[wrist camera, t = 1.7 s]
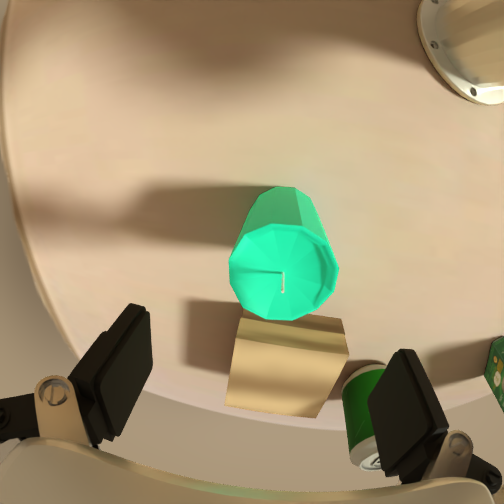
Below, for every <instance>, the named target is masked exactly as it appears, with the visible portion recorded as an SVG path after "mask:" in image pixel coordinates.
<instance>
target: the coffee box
mask: <svg viewBox="0 0 504 504" xmlns="http://www.w3.org/2000/svg"><path fill="white" fill-rule="evenodd" d="M484 377H485V378H486V380H487V382H488V384H489V386H490V388H491V389H492V391H493V393H494V395H495V397H496V399H497V401H498V403H499V405H500V407H501V408H502V410H503V412H504V336H502V337H500V338H498V339H497V340H495V341H493V343H492V345H491V349H490V354H489V359H488V362H487V366H486V369H485V374H484Z"/></svg>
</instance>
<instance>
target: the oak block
mask: <svg viewBox="0 0 504 504" xmlns="http://www.w3.org/2000/svg"><path fill="white" fill-rule="evenodd" d="M348 357H349V352H348V347H347V343H346V339H345V335H344V334H339V333H332V332H325V331H318V330H311V329H304V328H298V327H292V326H286V325H280V324H274V323H268V322H262V321H257V320H252V319H246V318H240V322H239V326H238V331H237V335H236V340H235V346H234V352H233V357H232V363H231V369H230V375H229V381H228V387H227V393H226V399H225V405H224V406H229V407H235V408H240V409H246V410H252V411H258V412H265V413H272V414H279V415H288V416H297V417H308V418H316V417H317V415H318V413H319V412H320V410H321V408H322V406H323V405H324V403H325V401H326V399H327V397H328V396H329V394H330V392H331V390H332V388H333V386H334V384H335V382H336V381H337V379H338V377H339V375H340V373H341V371H342V369H343V367H344V365H345V363H346V361H347V359H348Z"/></svg>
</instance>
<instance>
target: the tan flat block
mask: <svg viewBox="0 0 504 504" xmlns="http://www.w3.org/2000/svg"><path fill="white" fill-rule="evenodd" d="M242 318H246V319H252V320H257V321H262V322H268V323H274V324H280V325H286V326H292V327H298V328H304V329H311V330H318V331H325V332H332V333H339V334H344V335H345V332H344V328H343V324H342V320H341V319H339V318H332V317H325V316H319V315H312V314H306V315H304V316H302V317H299V318H297V319H295V320H293V321H291V320H270V319H264V318H262V317H260V316H258V315H256V314H254V313H252V312H250V311H248V310H246V309H245V308H244V309H243V314H242Z"/></svg>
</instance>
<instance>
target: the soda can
mask: <svg viewBox="0 0 504 504" xmlns="http://www.w3.org/2000/svg"><path fill="white" fill-rule="evenodd" d="M386 367H387V366H386V365H382V364H371V365H367V366H364V367H361V368H360V369H358V370H356V371H355V372H354V373H353V374H352V375H350V377H349V378H348V379H347V380H346V381H345V383H344V384H343V386H342V392H341V394H342V401H343V407H344V414H345V422H346V429H347V437H348V445H349V454H350V460H351V462H352V464H354V465H356V466H359V467H360V469H362V470H364V471H378V470H382V469H381V465H380V460H379V455H378V450H377V445H376V440H375V435H374V431H373V426H372V422H371V418H370V413H369V409H368V405H367V400H368V396H369V395H370V393H371V392H372V390H373V388H374V387H375V385H376V384H377V382H378V380H379V379H380V377H381V375H382V374H383V372H384V370H385V368H386Z"/></svg>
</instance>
